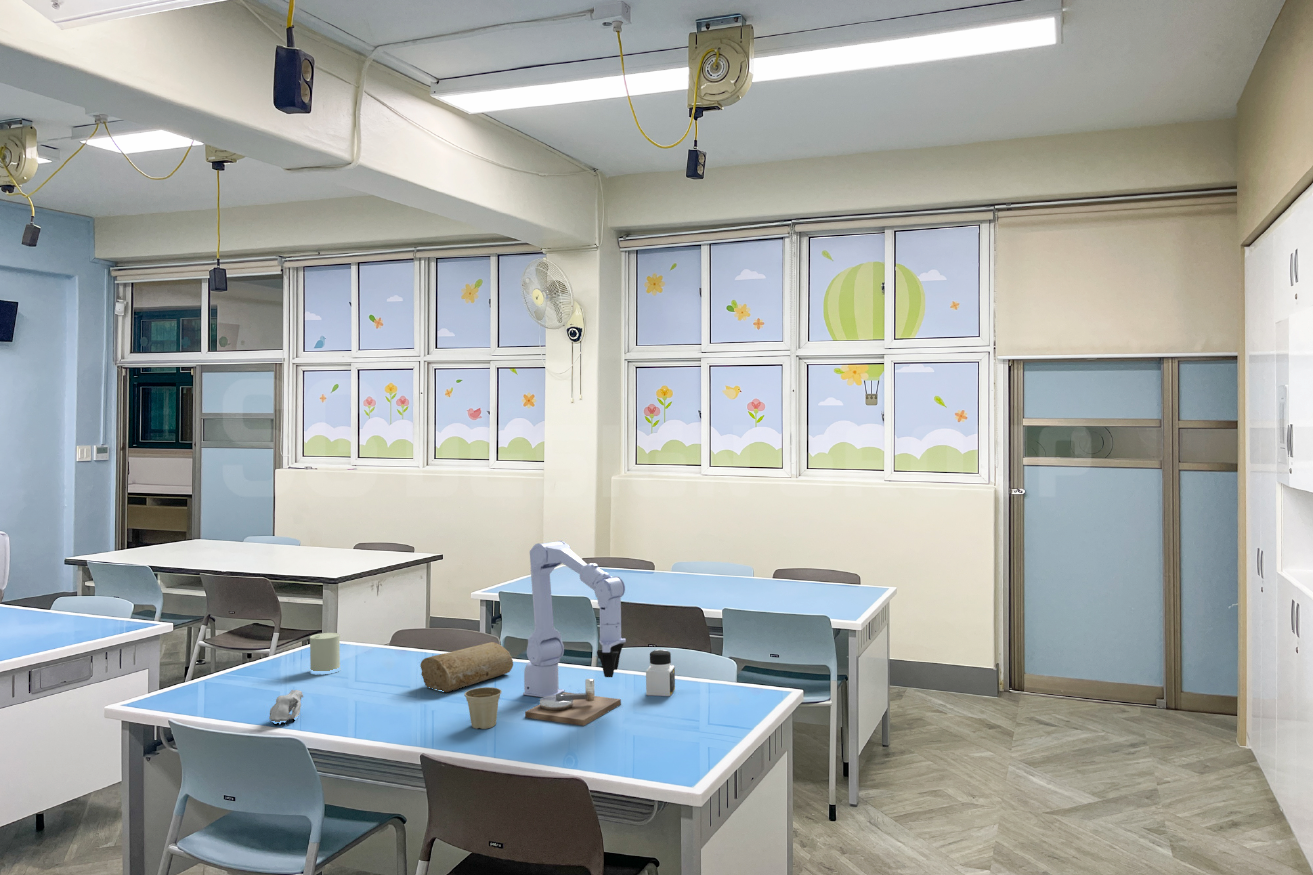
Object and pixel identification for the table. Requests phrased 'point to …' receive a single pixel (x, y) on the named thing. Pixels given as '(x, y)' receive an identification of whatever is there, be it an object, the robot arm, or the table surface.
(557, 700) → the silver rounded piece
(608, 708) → the stand board
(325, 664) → the can
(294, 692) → the skull
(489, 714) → the flower pot
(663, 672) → the medicine bottle
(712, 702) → the table surface
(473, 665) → the core sample
